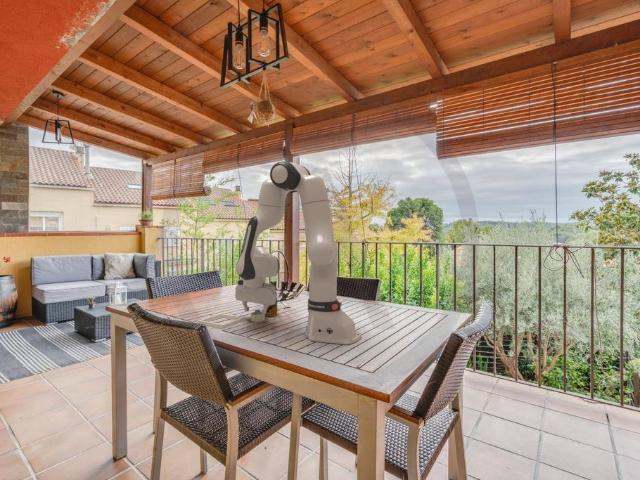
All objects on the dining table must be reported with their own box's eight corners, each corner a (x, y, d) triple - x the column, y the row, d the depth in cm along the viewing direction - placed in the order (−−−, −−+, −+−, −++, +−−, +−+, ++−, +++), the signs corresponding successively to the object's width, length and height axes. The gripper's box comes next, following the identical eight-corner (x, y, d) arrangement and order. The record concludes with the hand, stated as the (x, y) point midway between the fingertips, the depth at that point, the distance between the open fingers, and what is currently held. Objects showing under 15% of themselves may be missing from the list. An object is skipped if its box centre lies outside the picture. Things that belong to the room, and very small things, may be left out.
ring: (267, 319, 157) (267, 312, 157) (258, 322, 152) (258, 315, 152) (256, 317, 160) (256, 311, 160) (248, 320, 155) (248, 314, 155)
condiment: (264, 319, 160) (264, 294, 159) (261, 315, 168) (261, 290, 167) (279, 318, 162) (280, 293, 161) (276, 314, 170) (276, 289, 170)
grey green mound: (271, 320, 158) (271, 309, 158) (259, 325, 150) (259, 313, 150) (255, 318, 162) (255, 307, 162) (243, 322, 154) (243, 311, 154)
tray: (244, 322, 154) (244, 317, 154) (222, 330, 142) (222, 325, 142) (221, 318, 161) (221, 313, 161) (198, 326, 148) (197, 320, 148)
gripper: (279, 283, 153) (278, 314, 154) (242, 278, 162) (241, 307, 163) (271, 285, 147) (270, 317, 148) (233, 280, 156) (232, 310, 157)
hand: (255, 312), depth 155 cm, fingers open, 8 cm apart
